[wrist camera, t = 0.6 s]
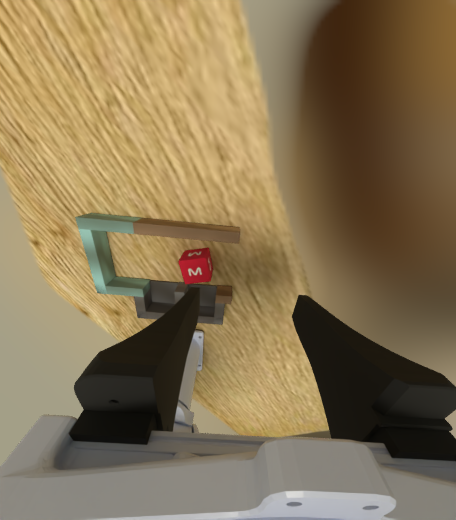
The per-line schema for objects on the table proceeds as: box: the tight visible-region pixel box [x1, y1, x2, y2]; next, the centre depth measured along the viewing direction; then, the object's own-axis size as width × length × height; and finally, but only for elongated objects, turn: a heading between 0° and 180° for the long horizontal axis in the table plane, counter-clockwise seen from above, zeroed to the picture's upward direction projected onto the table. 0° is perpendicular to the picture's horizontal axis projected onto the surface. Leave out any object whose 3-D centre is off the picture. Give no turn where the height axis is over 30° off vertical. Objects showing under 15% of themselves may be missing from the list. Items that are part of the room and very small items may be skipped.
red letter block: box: [178, 248, 213, 284], centre depth 20 cm, size 3×3×3 cm
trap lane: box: [75, 213, 240, 325], centre depth 21 cm, size 13×17×2 cm
